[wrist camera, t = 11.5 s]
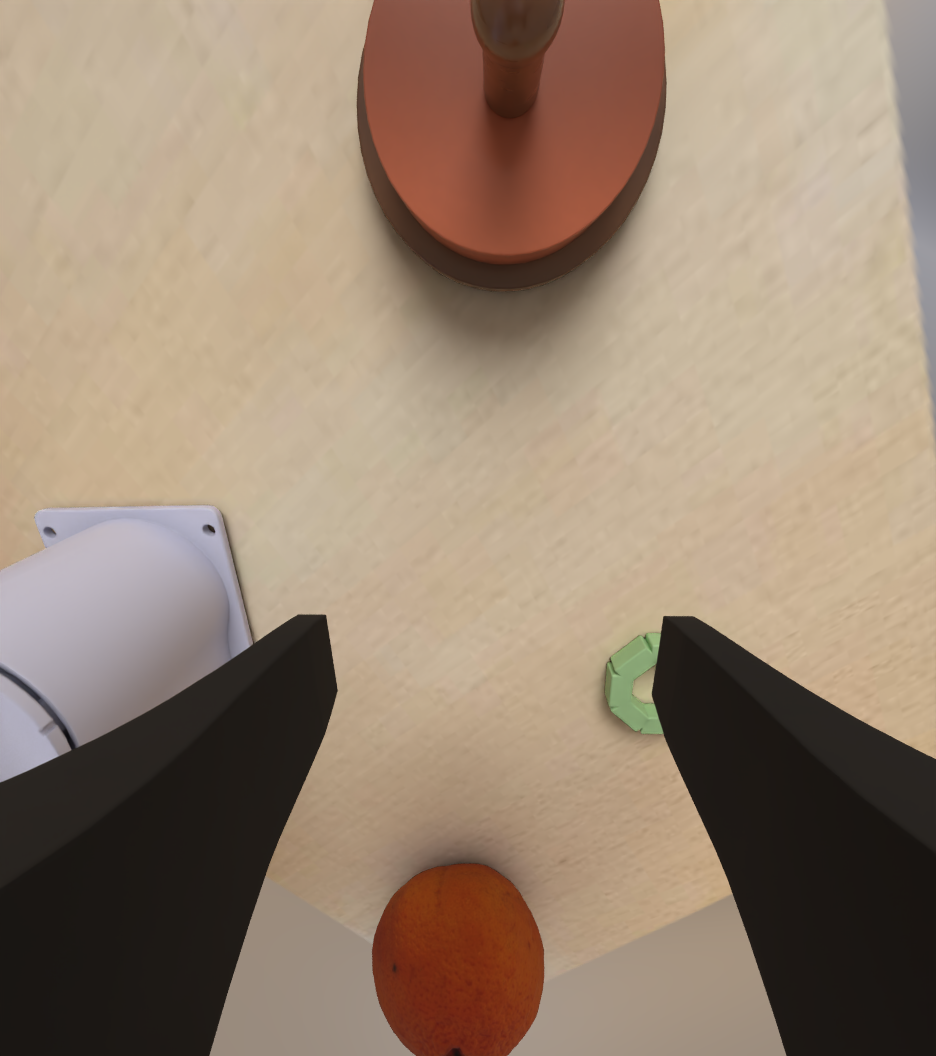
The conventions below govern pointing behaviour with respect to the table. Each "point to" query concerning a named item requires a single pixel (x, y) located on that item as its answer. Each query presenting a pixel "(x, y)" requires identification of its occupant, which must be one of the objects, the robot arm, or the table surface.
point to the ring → (620, 684)
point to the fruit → (458, 963)
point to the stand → (510, 129)
